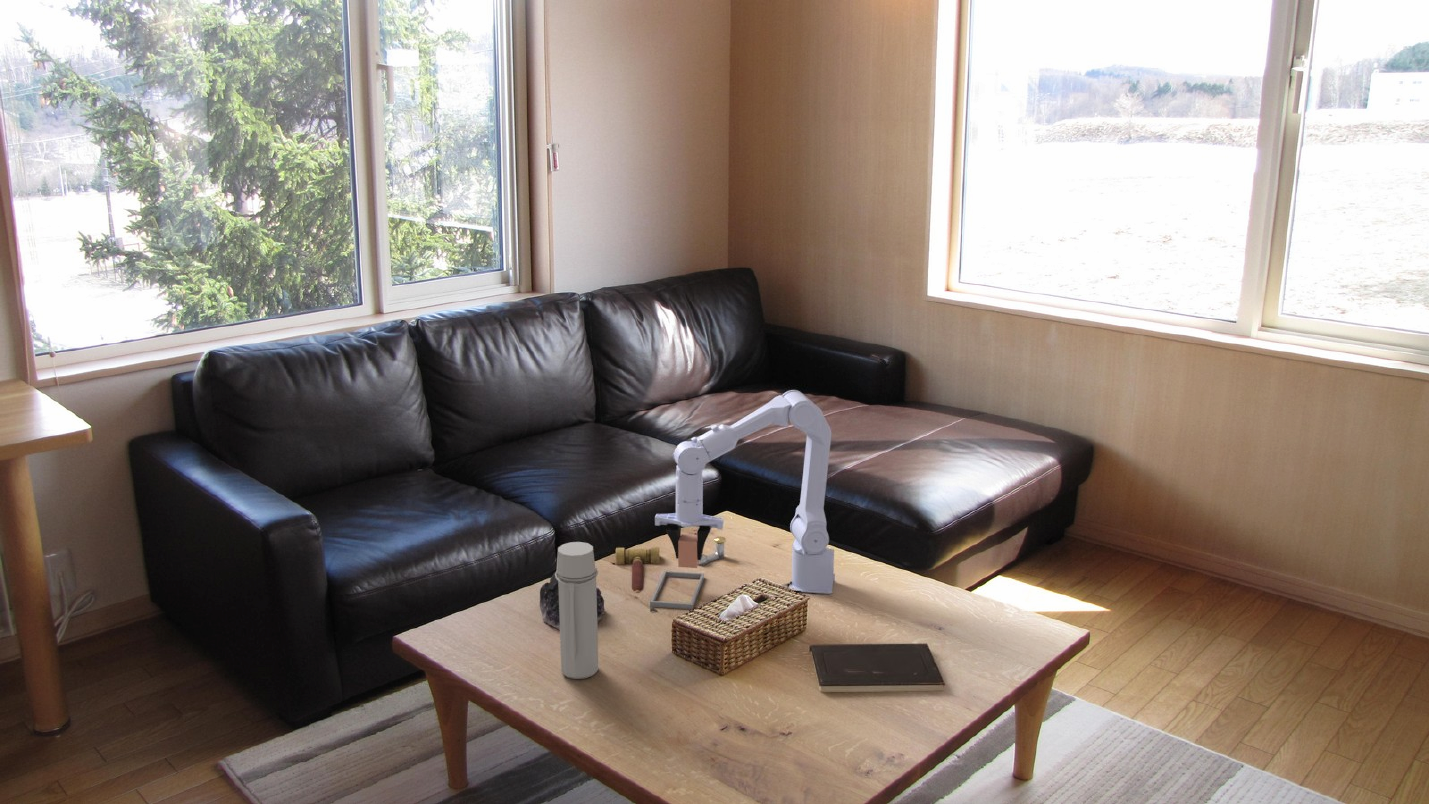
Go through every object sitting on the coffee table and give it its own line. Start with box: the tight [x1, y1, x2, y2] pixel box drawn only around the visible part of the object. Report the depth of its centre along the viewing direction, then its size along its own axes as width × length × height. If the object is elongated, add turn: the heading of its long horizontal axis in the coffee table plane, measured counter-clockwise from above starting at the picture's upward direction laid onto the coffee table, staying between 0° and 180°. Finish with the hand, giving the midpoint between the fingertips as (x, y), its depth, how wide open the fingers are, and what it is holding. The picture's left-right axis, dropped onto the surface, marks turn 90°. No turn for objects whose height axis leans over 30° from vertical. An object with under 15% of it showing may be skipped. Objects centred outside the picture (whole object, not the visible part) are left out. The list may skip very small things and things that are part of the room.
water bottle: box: [554, 541, 599, 680], centre depth 208 cm, size 9×8×25 cm
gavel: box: [615, 546, 661, 599], centre depth 252 cm, size 21×5×10 cm
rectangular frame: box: [649, 570, 705, 612], centre depth 243 cm, size 9×16×2 cm, turn 172°
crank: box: [698, 536, 727, 566], centre depth 259 cm, size 8×3×5 cm, turn 127°
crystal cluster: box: [539, 571, 605, 630], centre depth 233 cm, size 13×14×10 cm
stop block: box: [677, 533, 700, 569], centre depth 241 cm, size 4×4×6 cm
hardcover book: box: [809, 642, 946, 693], centre depth 213 cm, size 16×23×2 cm
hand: (689, 557), depth 241 cm, fingers closed on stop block, 4 cm apart
